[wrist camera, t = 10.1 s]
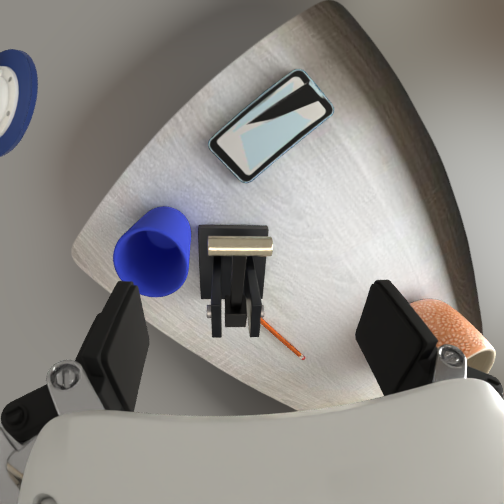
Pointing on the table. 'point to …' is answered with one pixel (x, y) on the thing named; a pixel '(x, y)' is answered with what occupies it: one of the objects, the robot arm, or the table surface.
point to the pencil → (281, 339)
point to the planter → (456, 332)
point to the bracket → (219, 276)
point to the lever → (238, 270)
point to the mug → (155, 252)
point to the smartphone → (271, 125)
